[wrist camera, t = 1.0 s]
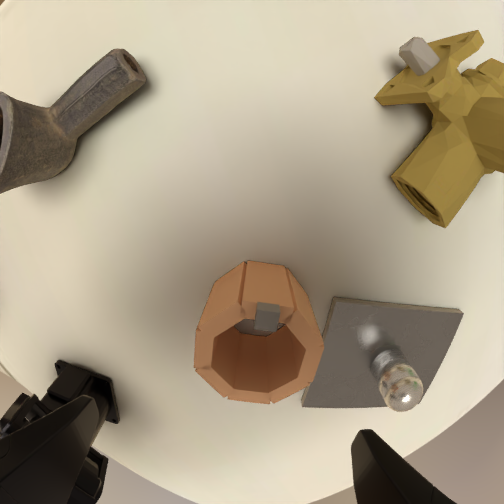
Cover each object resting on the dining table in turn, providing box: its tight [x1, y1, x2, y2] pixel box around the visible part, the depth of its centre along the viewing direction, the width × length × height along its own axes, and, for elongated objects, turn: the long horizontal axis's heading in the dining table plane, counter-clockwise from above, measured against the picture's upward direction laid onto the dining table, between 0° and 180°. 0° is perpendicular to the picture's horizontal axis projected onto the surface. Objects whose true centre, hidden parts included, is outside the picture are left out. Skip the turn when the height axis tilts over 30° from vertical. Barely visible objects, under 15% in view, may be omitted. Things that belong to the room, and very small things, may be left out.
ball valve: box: [374, 30, 504, 228], centre depth 12 cm, size 13×10×10 cm
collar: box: [194, 261, 324, 404], centre depth 17 cm, size 6×6×7 cm
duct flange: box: [301, 297, 464, 412], centre depth 18 cm, size 10×12×6 cm
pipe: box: [0, 49, 146, 194], centre depth 13 cm, size 6×13×8 cm, turn 119°
